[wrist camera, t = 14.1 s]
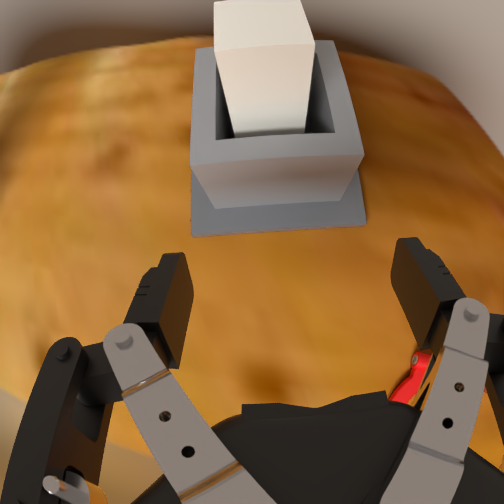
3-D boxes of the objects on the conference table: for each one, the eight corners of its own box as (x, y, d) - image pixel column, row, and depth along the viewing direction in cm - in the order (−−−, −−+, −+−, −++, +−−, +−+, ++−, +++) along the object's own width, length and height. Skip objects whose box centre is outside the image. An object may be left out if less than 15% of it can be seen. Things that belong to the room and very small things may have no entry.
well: (193, 237, 26) (155, 202, 17) (195, 100, 28) (172, 38, 20) (364, 226, 25) (402, 186, 16) (337, 90, 28) (352, 26, 19)
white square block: (244, 175, 26) (214, 51, 12) (240, 129, 26) (213, 2, 13) (298, 170, 25) (315, 43, 12) (291, 125, 26) (298, -5, 12)
